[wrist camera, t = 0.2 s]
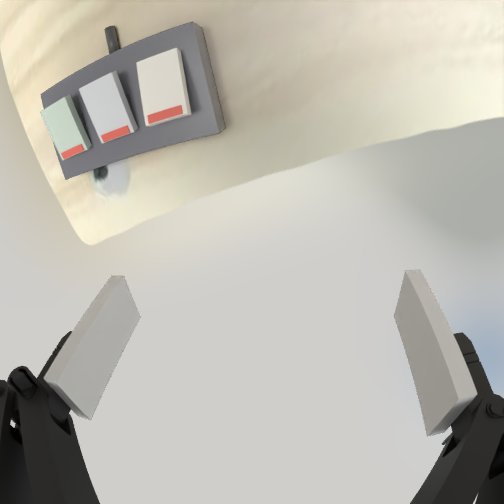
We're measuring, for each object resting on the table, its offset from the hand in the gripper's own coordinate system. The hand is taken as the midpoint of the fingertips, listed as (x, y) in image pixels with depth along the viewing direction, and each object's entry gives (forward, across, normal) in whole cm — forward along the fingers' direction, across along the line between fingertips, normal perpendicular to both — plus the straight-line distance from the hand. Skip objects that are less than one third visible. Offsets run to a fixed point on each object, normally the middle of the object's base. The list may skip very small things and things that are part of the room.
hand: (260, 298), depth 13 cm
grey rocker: (+22, -19, +10) cm, 30 cm away
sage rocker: (+22, -26, +9) cm, 35 cm away
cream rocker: (+22, -11, +10) cm, 26 cm away
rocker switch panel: (+27, -19, +12) cm, 35 cm away
